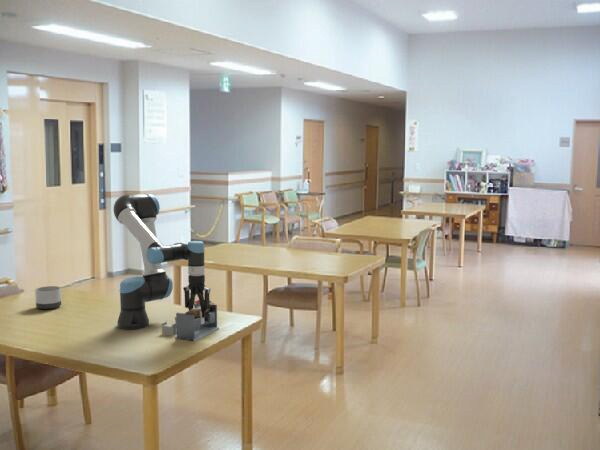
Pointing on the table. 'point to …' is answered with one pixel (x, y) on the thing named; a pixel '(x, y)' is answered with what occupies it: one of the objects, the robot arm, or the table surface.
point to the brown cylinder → (196, 312)
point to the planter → (48, 297)
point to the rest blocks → (169, 328)
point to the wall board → (202, 332)
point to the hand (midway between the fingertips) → (197, 323)
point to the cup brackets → (194, 323)
